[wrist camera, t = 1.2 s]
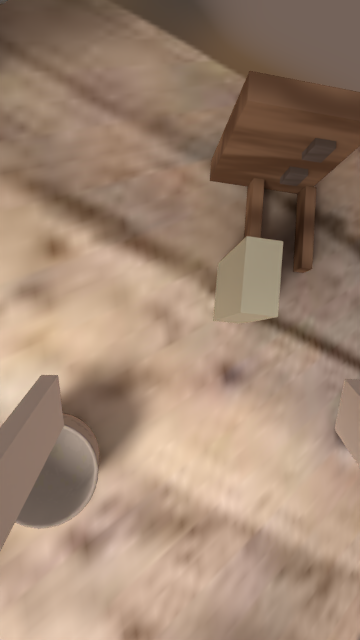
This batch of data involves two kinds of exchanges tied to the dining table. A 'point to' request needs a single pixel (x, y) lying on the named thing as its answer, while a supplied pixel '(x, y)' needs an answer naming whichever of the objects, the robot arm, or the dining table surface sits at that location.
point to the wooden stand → (286, 147)
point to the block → (249, 282)
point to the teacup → (64, 478)
